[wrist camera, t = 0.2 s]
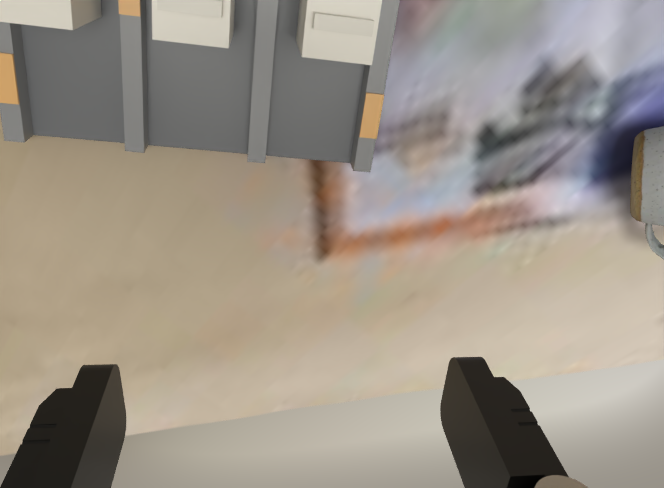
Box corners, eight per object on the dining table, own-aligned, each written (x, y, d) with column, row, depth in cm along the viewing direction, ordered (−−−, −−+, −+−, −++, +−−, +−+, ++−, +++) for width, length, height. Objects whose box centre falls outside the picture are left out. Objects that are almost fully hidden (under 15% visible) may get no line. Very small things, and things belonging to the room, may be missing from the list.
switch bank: (-10, -112, 32) (-34, -117, 29) (398, -50, 36) (409, -50, 33) (20, 127, 38) (3, 141, 36) (363, 158, 42) (370, 173, 40)
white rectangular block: (302, -28, 35) (310, -22, 29) (365, -19, 35) (387, -11, 29) (296, 40, 36) (302, 59, 30) (356, 47, 37) (374, 67, 31)
